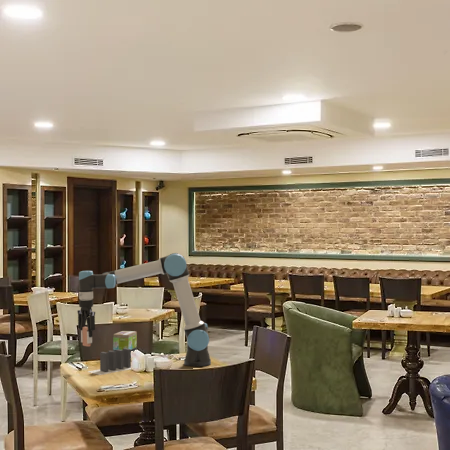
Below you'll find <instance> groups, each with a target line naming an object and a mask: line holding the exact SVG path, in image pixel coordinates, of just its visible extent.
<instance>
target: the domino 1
mask: <svg viewBox="0 0 450 450" xmlns="http://www.w3.org/2000/svg"><path fill="white" fill-rule="evenodd" d="M87 330H88V327H87V326H85V327H83V342H82V346H83V347H91V345H92V343H89V344H87Z"/></svg>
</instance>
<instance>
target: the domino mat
mask: <svg viewBox="0 0 450 450" xmlns="http://www.w3.org/2000/svg"><path fill="white" fill-rule="evenodd" d="M128 370H129V371H130V370H132V369H131V368H126V367H123V369H117V368H116V370H115V371H112V370H108V372H103V371H100V368H99V369H94V370H89V371H87V373H91V374H94V375H98V376H102V375H108V374H113V373H119V372H124V371H128Z"/></svg>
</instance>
